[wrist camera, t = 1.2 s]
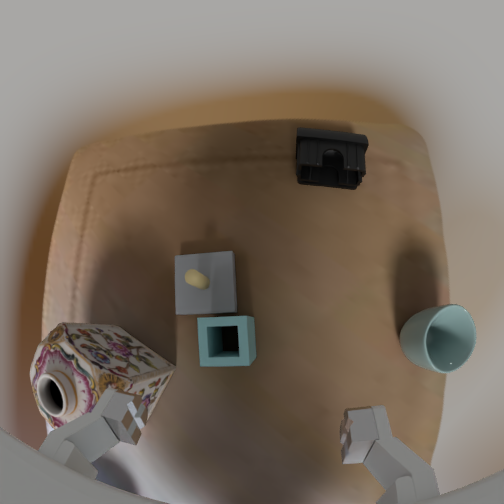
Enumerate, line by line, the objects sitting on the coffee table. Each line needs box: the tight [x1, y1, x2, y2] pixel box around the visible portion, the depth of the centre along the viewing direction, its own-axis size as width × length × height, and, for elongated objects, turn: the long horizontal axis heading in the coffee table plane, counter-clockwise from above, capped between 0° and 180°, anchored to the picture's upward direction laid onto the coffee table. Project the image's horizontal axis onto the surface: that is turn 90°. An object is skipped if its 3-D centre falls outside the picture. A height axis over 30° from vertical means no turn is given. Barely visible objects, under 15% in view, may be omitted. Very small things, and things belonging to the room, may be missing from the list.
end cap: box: [296, 128, 369, 190], centre depth 39 cm, size 10×7×7 cm
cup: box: [399, 304, 476, 373], centre depth 30 cm, size 8×8×10 cm
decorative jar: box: [30, 322, 176, 429], centre depth 29 cm, size 12×12×18 cm
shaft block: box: [175, 251, 237, 315], centre depth 37 cm, size 8×8×7 cm
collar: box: [197, 316, 256, 366], centre depth 34 cm, size 5×5×8 cm
